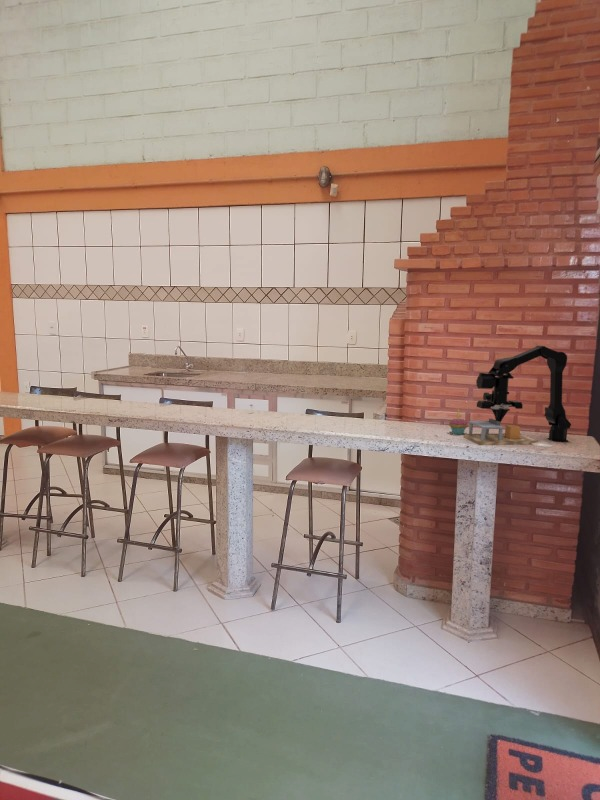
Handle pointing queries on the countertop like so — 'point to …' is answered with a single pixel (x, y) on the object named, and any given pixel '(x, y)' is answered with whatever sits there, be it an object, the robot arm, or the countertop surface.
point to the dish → (543, 444)
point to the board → (493, 440)
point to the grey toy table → (486, 427)
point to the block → (512, 432)
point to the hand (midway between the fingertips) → (498, 424)
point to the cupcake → (458, 425)
